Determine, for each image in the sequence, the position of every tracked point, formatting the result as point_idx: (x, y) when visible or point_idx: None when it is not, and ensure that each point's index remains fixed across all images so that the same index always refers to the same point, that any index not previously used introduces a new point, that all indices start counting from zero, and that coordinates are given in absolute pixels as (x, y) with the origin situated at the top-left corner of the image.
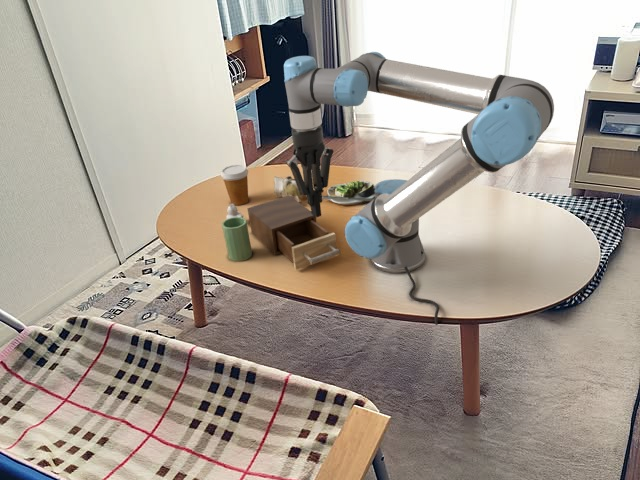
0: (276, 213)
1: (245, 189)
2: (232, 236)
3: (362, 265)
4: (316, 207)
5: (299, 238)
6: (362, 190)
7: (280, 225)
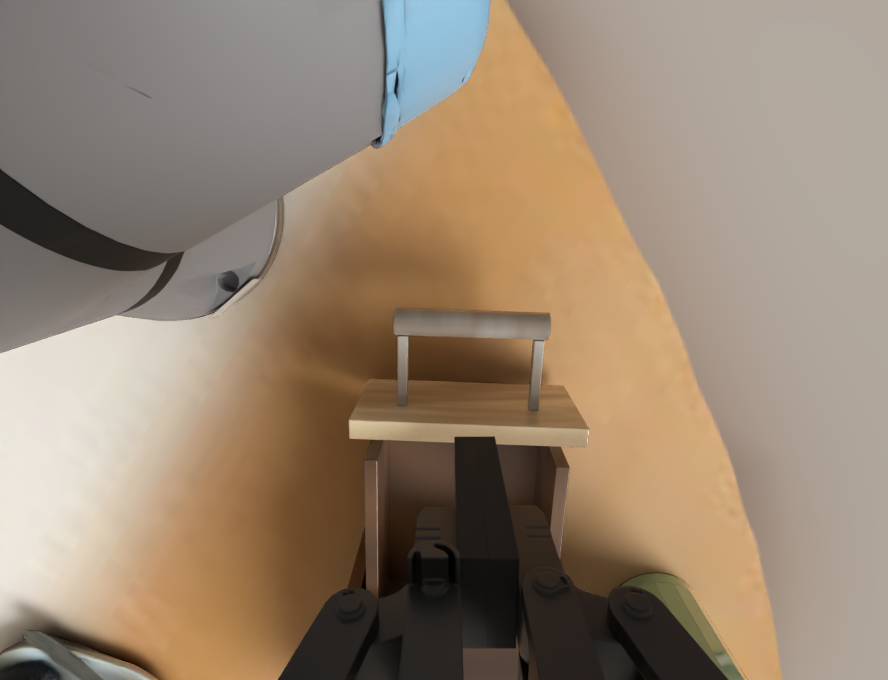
0: None
1: None
2: (742, 678)
3: (318, 259)
4: (494, 477)
5: None
6: None
7: None
